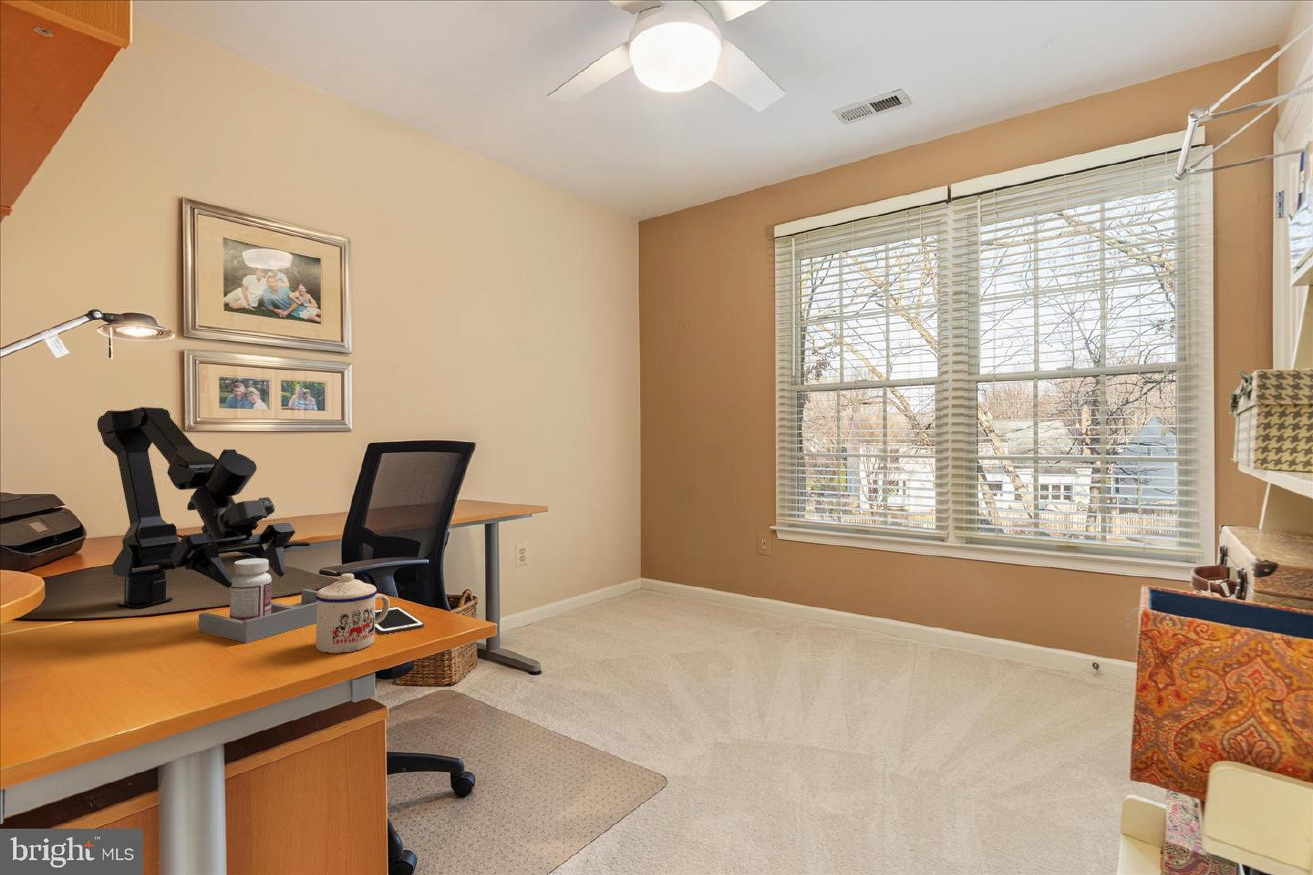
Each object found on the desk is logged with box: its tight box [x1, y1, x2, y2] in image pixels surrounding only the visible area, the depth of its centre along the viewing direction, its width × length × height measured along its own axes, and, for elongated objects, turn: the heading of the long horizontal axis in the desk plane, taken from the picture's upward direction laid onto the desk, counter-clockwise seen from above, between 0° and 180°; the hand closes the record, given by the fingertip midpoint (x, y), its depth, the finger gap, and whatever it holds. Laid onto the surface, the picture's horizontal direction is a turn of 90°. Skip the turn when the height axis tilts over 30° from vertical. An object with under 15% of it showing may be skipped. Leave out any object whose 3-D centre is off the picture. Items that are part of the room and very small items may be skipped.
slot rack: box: [198, 588, 319, 644], centre depth 114 cm, size 13×20×4 cm, turn 156°
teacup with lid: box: [315, 573, 391, 654], centre depth 104 cm, size 12×9×12 cm
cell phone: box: [375, 606, 425, 635], centre depth 116 cm, size 8×15×1 cm, turn 41°
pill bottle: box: [229, 557, 273, 621], centre depth 110 cm, size 6×6×11 cm
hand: (257, 580), depth 109 cm, fingers open, 9 cm apart
